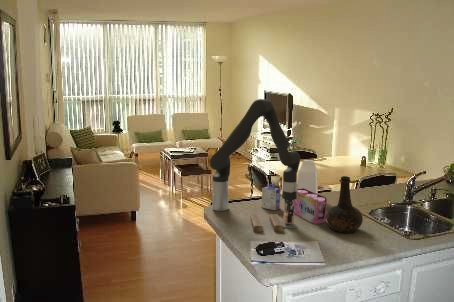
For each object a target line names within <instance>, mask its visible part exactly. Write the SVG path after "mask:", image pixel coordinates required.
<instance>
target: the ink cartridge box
mask: <svg viewBox="0 0 454 302" xmlns="http://www.w3.org/2000/svg"><path fill="white" fill-rule="evenodd" d="M261 190H262V191H261V208H263V209H265V210H266V209H268V210H271V211H277V210H280V209H281V208H280V207H281V188H278V187H276V184H275V183H269V186H264V187H261Z"/></svg>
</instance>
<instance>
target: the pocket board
mask: <svg viewBox="0 0 454 302" xmlns="http://www.w3.org/2000/svg"><path fill="white" fill-rule="evenodd" d="M249 215H250V216H249V217H250V219H249V221H250V223H251V224H250V225H251V226H252V227H251V228H252V230H253V233H262V232H263V229H264V228H263V223H262V220H261V217H260V216H259V214H249ZM268 220H269V223H270V225H271V227H272V229H273V232H276V233H277V232H281V233H282V232H284V228H283V224H282V222H283V221H281V218H280V216H279V215H278V213H274V214H273V213H270V214H269V215H268Z"/></svg>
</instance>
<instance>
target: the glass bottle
mask: <svg viewBox="0 0 454 302" xmlns="http://www.w3.org/2000/svg"><path fill="white" fill-rule="evenodd" d="M339 182H340V189H339V190H340V191H339V197H338V201H337V202H338V203H337V205H333V206H332V207H330V208H329V209H327V215H326V223H327V224H328V225H329V227H330V228H331V230H334V231H335V232H338V233H345V234H346V233H352V232H353V233H354V232H356V231H357V230H358V229H359V228H360V227H361V225H362V224H363V220H364V218H363V214H362V212H361V211H360V210H359V208H357V207H355V206H353V204H352V199H351V183H350V182H351V177H350V176H347V175H344V176H340V179H339Z"/></svg>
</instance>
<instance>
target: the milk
mask: <svg viewBox="0 0 454 302" xmlns="http://www.w3.org/2000/svg"><path fill="white" fill-rule="evenodd" d="M297 174H298V175H297V189H302V188H304V189H307V190H309V191H311V192H314V193H316V194H318V192H319V191H318V190H319V189H318V184H319V183H318V168H317V165H316V163H315V161H314V160H312V159H311V160H310V159H309V160H308V159H304V160H303V161H302V163H301V165H300V166H299V169H298V173H297Z"/></svg>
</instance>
